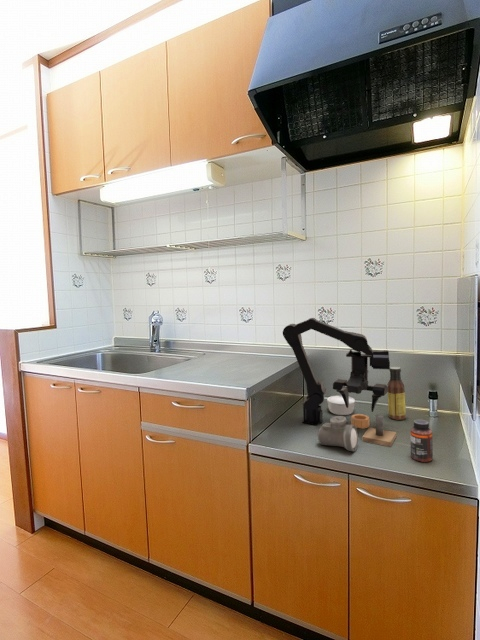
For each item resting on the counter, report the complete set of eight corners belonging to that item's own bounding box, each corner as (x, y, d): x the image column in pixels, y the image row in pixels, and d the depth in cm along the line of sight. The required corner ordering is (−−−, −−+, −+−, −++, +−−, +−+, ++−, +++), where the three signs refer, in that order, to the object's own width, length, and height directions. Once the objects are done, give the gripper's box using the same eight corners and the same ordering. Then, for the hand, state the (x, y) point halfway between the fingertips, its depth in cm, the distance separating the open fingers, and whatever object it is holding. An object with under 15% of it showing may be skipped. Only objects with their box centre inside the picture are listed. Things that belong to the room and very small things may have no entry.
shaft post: (362, 440, 122) (362, 417, 121) (369, 431, 130) (369, 409, 129) (390, 446, 117) (390, 422, 116) (396, 436, 124) (396, 414, 124)
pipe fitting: (361, 444, 119) (356, 414, 118) (353, 456, 112) (348, 424, 111) (326, 440, 126) (321, 412, 125) (317, 452, 119) (312, 422, 118)
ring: (349, 426, 135) (349, 418, 135) (354, 420, 140) (354, 413, 140) (366, 429, 131) (366, 421, 131) (371, 423, 137) (370, 416, 136)
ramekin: (358, 409, 153) (358, 397, 152) (351, 418, 143) (350, 405, 143) (332, 405, 159) (332, 394, 158) (323, 413, 149) (323, 401, 149)
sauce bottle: (406, 416, 142) (406, 366, 141) (404, 421, 137) (404, 370, 135) (389, 413, 146) (388, 365, 144) (386, 418, 141) (385, 368, 139)
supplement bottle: (429, 454, 111) (429, 418, 110) (435, 463, 105) (435, 425, 104) (408, 453, 112) (408, 417, 111) (413, 462, 107) (413, 425, 106)
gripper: (327, 370, 132) (327, 412, 134) (380, 376, 122) (380, 421, 123) (337, 364, 142) (338, 403, 143) (388, 369, 131) (388, 411, 133)
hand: (359, 409), depth 135 cm, fingers open, 9 cm apart
